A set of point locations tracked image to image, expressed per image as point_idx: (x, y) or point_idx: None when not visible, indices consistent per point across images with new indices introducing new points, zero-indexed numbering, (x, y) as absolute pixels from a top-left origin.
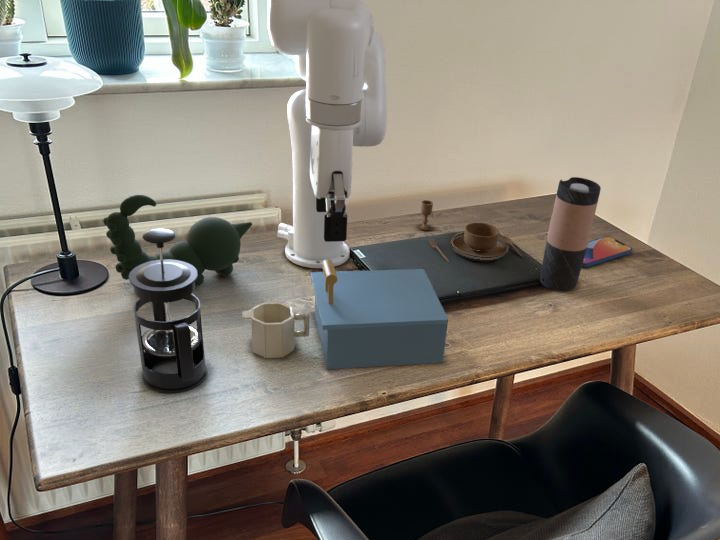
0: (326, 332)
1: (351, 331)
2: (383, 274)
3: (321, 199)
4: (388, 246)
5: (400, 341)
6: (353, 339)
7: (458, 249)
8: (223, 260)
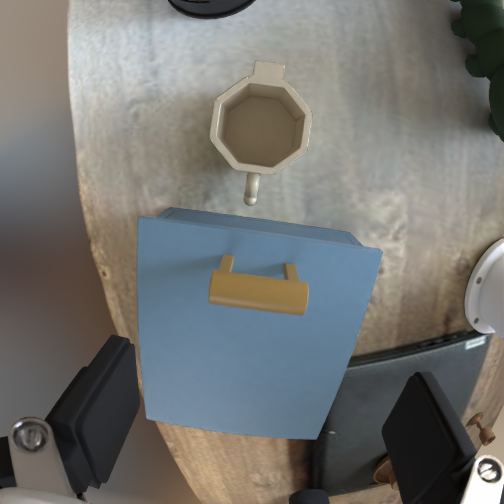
0: None
1: None
2: (320, 386)
3: (425, 427)
4: (470, 379)
5: None
6: None
7: None
8: (496, 106)
